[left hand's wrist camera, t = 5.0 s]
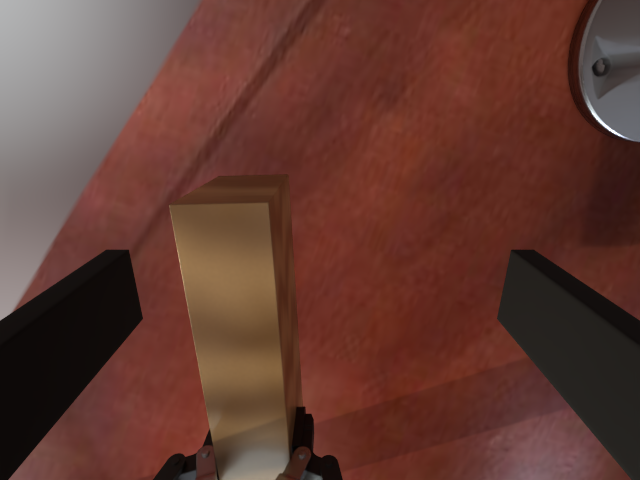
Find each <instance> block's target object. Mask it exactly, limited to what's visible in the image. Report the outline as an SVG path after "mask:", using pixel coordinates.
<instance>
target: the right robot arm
mask: <svg viewBox="0 0 640 480" xmlns="http://www.w3.org/2000/svg"><path fill="white" fill-rule="evenodd" d="M313 443H314V420H313V417H312V415H311V414H306V410H305V407H297V408H296V416H295V424H294V432H293V439H292V456H291V458H290V460H289V462H288V464H287V466H286V468H285V470H284V472H283V473H279V475H278V476H277V478H276V480H343V479H342V476H341V472H340V468H339V464H338V461H337V459H336V458H335V457H334V456H332V455H326V456H324V457H322V458H321V457H318V456H316V455H315V454H314V453H313ZM153 480H219V475H218V469H217V464H216V458H215V453H214V448H213V442H212V437H211V431H210V430H209V432H208V434H207V437H206V439H205V442H204V444H203V447H202V448H200V449H199V450H198V452H197V453H196V454H194V455H191V456H187V457H185V456H184V455H183V454H175V455H173V456H171V457H170V458H169V459H168V460H167V462H166V463H165V464H164V466H163V467H162V468H161V470H160V471H159V472H158V474H157V475H156V477H155V478H154V479H153Z"/></svg>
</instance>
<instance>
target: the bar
mask: <svg viewBox="0 0 640 480" xmlns="http://www.w3.org/2000/svg"><path fill="white" fill-rule="evenodd" d="M169 207H170V213H171V218H172V224H173V229H174V235H175V240H176V246H177V251H178V257H179V262H180V268H181V273H182V278H183V284H184V289H185V295H186V300H187V306H188V311H189V317H190V322H191V328H192V333H193V338H194V344H195V349H196V355H197V360H198V366H199V371H200V377H201V382H202V388H203V393H204V399H205V404H206V409H207V415H208V420H209V426H210V431H211V437H212V442H213V448H214V453H215V458H216V464H217V469H218V475H219V480H276V478H277V476H278V475H279V473H283V472H284V470H285V468H286V466H287V464H288V462H289V460H290V458H291V456H292V439H293V432H294V424H295V416H296V408H297V407H303V401H302V385H301V369H300V353H299V337H298V320H297V304H296V288H295V272H294V256H293V239H292V223H291V207H290V191H289V175H288V174H287V175H246V176H218V177H217V178H215V179H213V180H211V181H210V182H208V183H206V184H204V185H203V186H201V187H199V188H197V189H196V190H194V191H192V192H190V193H189V194H187V195H185V196H183V197H182V198H180V199H178V200H176V201H175V202H173V203H171V204H169Z"/></svg>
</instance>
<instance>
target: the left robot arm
mask: <svg viewBox="0 0 640 480" xmlns="http://www.w3.org/2000/svg"><path fill="white" fill-rule="evenodd" d="M568 78H569V85H570V90H571V94H572V97H573V99H574V102H575V104H576V106H577V108H578V110H579V111H580V113H581V114H582V116H583V117H584V118H585V119H586V121H587V122H589V123H590V124H591V125H592V126H593V127H594V128H596V129H597V130H598V131H600V132H602V133H604V134H605V135H608V136H610V137H613V138H616V139H620V140H625V141H633V142H640V0H589V1H588V3H587V4H586V6H585V8H584V10H583V12H582V14H581V16H580V18H579V21H578V23H577V26H576V28H575V31H574V34H573V38H572V42H571V46H570V51H569V59H568ZM142 319H143V317H142V312H141V307H140V302H139V297H138V293H137V288H136V283H135V278H134V273H133V268H132V263H131V259H130V254H129V250H105V251H104V252H102V253H101V254H99V255H98V256H96V257H95V258H93V259H92V260H90V261H89V262H87V263H86V264H84V265H83V266H81V267H80V268H78V269H77V270H75V271H74V272H72V273H71V274H69V275H68V276H66V277H65V278H63V279H62V280H60V281H59V282H57V283H56V284H54V285H53V286H51V287H50V288H49V289H47V290H46V291H44V292H43V293H41V294H40V295H38V296H37V297H35V298H34V299H32V300H31V301H29V302H28V303H26V304H25V305H23V306H22V307H20V308H19V309H17V310H16V311H14V312H13V313H11V314H10V315H8V316H7V317H5V318H4V319H2V320H1V321H0V480H8V479H9V478H10V477H11V476H12V475H13V473H14V472H15V471H16V470H17V469H18V467H19V466H20V465H21V464H22V463H23V461H24V460H25V459H26V458H27V457H28V455H29V454H30V453H31V452H32V451H33V449H34V448H35V447H36V446H37V445H38V444H39V442H40V441H41V440H42V439H43V438H44V436H45V435H46V434H47V433H48V432H49V430H50V429H51V428H52V427H53V426H54V424H55V423H56V422H57V421H58V420H59V418H60V417H61V416H62V415H63V414H64V412H65V411H66V410H67V409H68V408H69V406H70V405H71V404H72V403H73V402H74V400H75V399H76V398H77V397H78V396H79V394H80V393H81V392H82V391H83V390H84V389H85V387H86V386H87V385H88V384H89V383H90V381H91V380H92V379H93V378H94V377H95V375H96V374H97V373H98V372H99V371H100V369H101V368H102V367H103V366H104V365H105V363H106V362H107V361H108V360H109V359H110V357H111V356H112V355H113V354H114V353H115V351H116V350H117V349H118V348H119V347H120V345H121V344H122V343H123V342H124V341H125V340H126V338H127V337H128V336H129V335H130V334H131V332H132V331H133V330H134V329H135V328H136V326H137V325H138V324H139V323H140V322H141V320H142ZM497 319H498V320H499V322H500V323H501V324H502V325H503V326H504V328H505V329H506V330H507V331H508V332H509V334H510V335H511V336H512V337H513V338H514V340H515V341H516V342H517V343H518V344H519V345H520V347H521V348H522V349H523V350H524V351H525V353H526V354H527V355H528V356H529V357H530V359H531V360H532V361H533V362H534V363H535V365H536V366H537V367H538V368H539V369H540V371H541V372H542V373H543V374H544V375H545V377H546V378H547V379H548V380H549V381H550V383H551V384H552V385H553V386H554V387H555V389H556V390H557V391H558V392H559V393H560V395H561V396H562V397H563V398H564V399H565V400H566V402H567V403H568V404H569V405H570V406H571V408H572V409H573V410H574V411H575V412H576V414H577V415H578V416H579V417H580V418H581V420H582V421H583V422H584V423H585V424H586V426H587V427H588V428H589V429H590V430H591V432H592V433H593V434H594V435H595V436H596V438H597V439H598V440H599V441H600V442H601V444H602V445H603V446H604V447H605V448H606V449H607V451H608V452H609V453H610V454H611V455H612V457H613V458H614V459H615V460H616V461H617V463H618V464H619V465H620V466H621V467H622V469H623V470H624V471H625V472H626V473H627V475H628V476H629V477H630V478H631V479H632V480H640V321H639V320H638V319H636V318H635V317H633V316H632V315H630V314H629V313H627V312H626V311H624V310H623V309H621V308H620V307H618V306H617V305H615V304H614V303H612V302H611V301H609V300H608V299H606V298H605V297H603V296H602V295H600V294H599V293H597V292H596V291H594V290H593V289H591V288H590V287H588V286H587V285H586V284H584V283H583V282H581V281H580V280H578V279H577V278H575V277H574V276H572V275H571V274H569V273H568V272H566V271H565V270H563V269H562V268H560V267H559V266H557V265H556V264H554V263H553V262H551V261H550V260H548V259H547V258H545V257H544V256H542V255H541V254H539V253H538V252H536V251H535V250H511V254H510V259H509V263H508V268H507V273H506V278H505V283H504V288H503V293H502V297H501V302H500V307H499V312H498V317H497Z"/></svg>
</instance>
